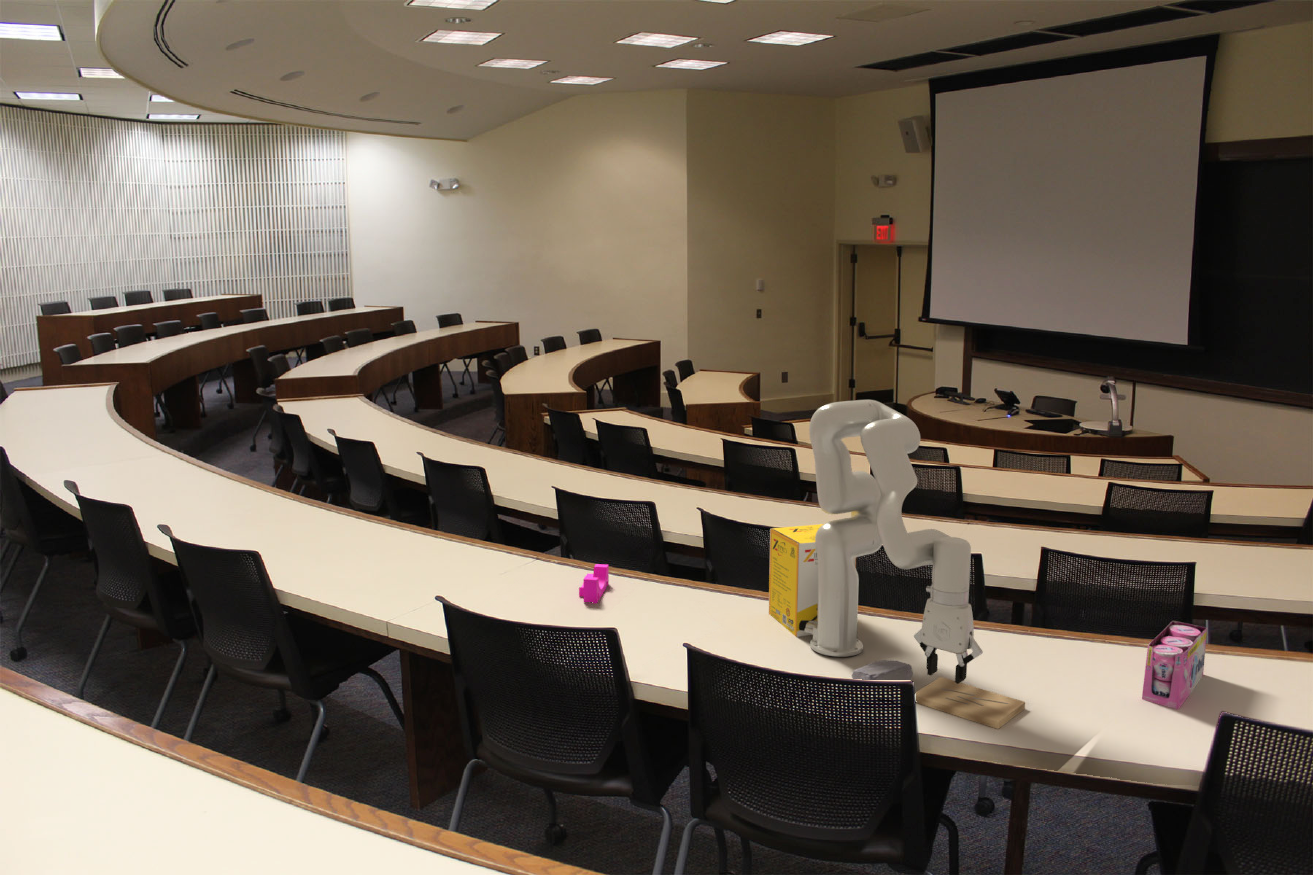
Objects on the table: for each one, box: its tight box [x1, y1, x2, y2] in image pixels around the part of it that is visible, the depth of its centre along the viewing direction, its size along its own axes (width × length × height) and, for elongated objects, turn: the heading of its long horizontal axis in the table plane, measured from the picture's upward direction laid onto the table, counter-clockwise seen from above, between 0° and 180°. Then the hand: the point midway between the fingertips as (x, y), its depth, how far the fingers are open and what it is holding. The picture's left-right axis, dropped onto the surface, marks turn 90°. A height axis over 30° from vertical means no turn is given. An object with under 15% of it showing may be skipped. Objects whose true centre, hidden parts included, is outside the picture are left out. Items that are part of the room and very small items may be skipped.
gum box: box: [1141, 620, 1208, 710], centre depth 208 cm, size 22×7×13 cm, turn 138°
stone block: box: [851, 659, 914, 681], centre depth 213 cm, size 12×5×10 cm
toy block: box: [578, 563, 610, 604], centre depth 274 cm, size 15×6×8 cm, turn 170°
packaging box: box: [768, 523, 857, 638], centre depth 248 cm, size 16×16×25 cm
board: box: [915, 676, 1026, 730], centre depth 202 cm, size 19×13×2 cm
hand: (945, 676), depth 205 cm, fingers open, 5 cm apart
